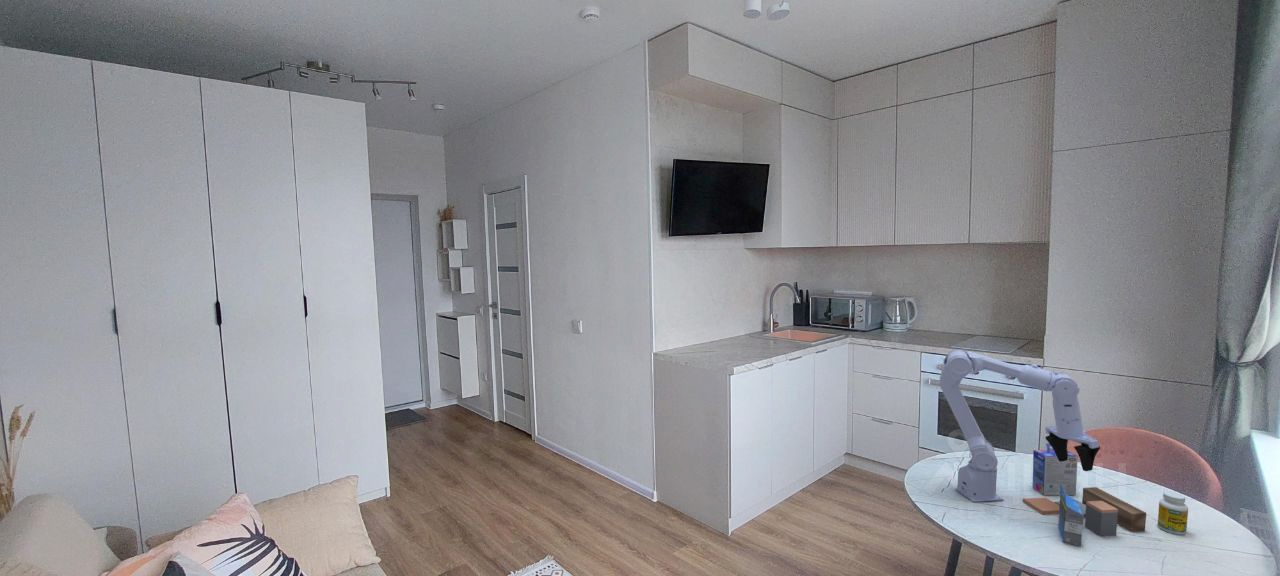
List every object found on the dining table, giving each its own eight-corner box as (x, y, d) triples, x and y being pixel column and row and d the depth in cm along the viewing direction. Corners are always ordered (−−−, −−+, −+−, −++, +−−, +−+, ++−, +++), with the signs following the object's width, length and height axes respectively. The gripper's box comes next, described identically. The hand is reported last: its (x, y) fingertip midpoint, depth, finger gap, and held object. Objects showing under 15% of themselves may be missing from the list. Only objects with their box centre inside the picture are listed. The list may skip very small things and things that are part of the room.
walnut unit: (1130, 531, 136) (1132, 513, 135) (1081, 504, 150) (1083, 487, 149) (1146, 530, 136) (1147, 512, 136) (1096, 503, 150) (1097, 487, 150)
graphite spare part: (1100, 536, 134) (1102, 510, 133) (1084, 527, 138) (1086, 501, 138) (1116, 535, 134) (1118, 509, 134) (1100, 526, 139) (1101, 500, 138)
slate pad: (1076, 517, 143) (1076, 514, 143) (1054, 504, 150) (1054, 501, 150) (1099, 516, 143) (1100, 513, 143) (1077, 503, 150) (1077, 500, 150)
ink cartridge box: (1062, 486, 160) (1065, 441, 159) (1077, 495, 155) (1080, 449, 153) (1030, 487, 160) (1032, 442, 159) (1043, 495, 155) (1046, 449, 153)
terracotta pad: (1042, 514, 145) (1042, 511, 145) (1022, 501, 152) (1022, 498, 152) (1066, 513, 145) (1066, 509, 145) (1045, 500, 152) (1045, 497, 152)
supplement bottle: (1177, 525, 138) (1180, 491, 137) (1191, 536, 133) (1195, 501, 132) (1152, 522, 140) (1155, 488, 139) (1165, 533, 135) (1168, 498, 134)
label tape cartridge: (1082, 547, 130) (1085, 500, 128) (1062, 542, 132) (1065, 496, 131) (1075, 529, 137) (1078, 485, 136) (1057, 525, 139) (1059, 482, 138)
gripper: (1106, 421, 137) (1113, 472, 138) (1058, 408, 152) (1065, 454, 152) (1081, 426, 137) (1089, 477, 137) (1036, 413, 151) (1043, 458, 152)
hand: (1075, 465), depth 145 cm, fingers open, 7 cm apart
